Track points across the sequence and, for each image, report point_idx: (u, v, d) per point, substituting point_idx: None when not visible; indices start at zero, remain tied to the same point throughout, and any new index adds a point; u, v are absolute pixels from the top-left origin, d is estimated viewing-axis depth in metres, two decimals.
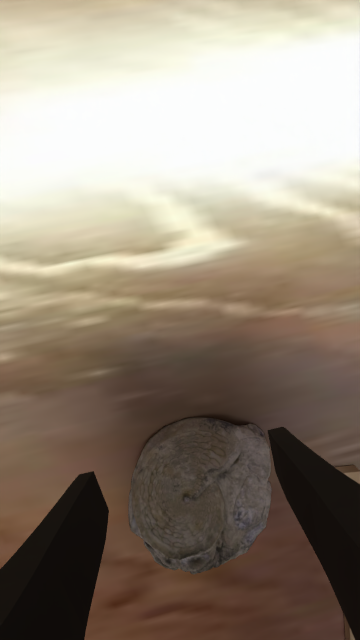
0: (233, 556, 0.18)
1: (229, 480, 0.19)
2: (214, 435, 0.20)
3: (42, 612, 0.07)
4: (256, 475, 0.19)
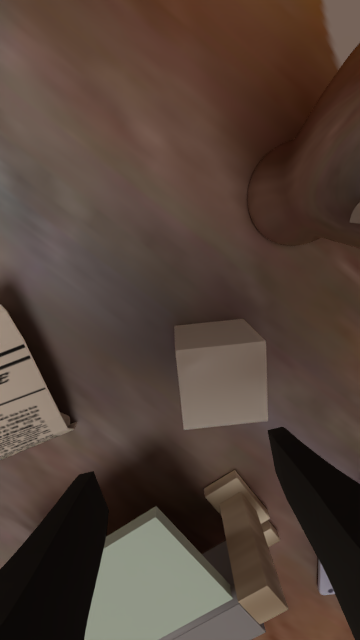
0: None
1: None
2: None
3: (42, 612, 0.07)
4: None
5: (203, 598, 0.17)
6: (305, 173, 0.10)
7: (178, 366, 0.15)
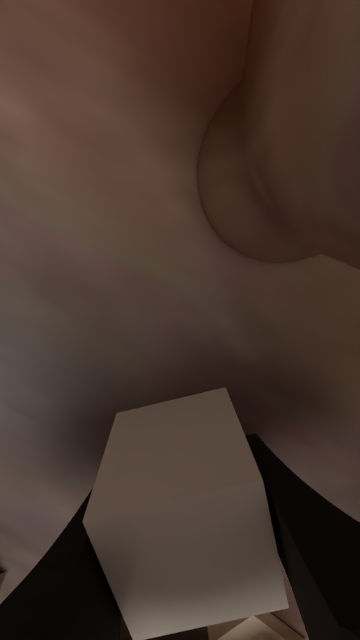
0: None
1: None
2: None
3: (85, 602, 0.07)
4: None
5: None
6: (306, 52, 0.02)
7: (96, 546, 0.08)
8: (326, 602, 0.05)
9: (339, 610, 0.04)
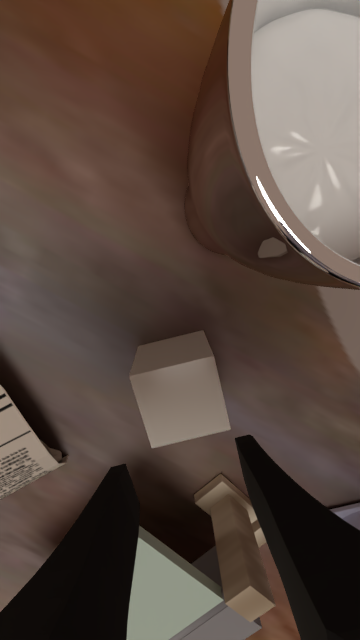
0: None
1: None
2: None
3: (93, 601, 0.07)
4: None
5: (195, 603, 0.18)
6: None
7: (135, 390, 0.16)
8: (314, 604, 0.05)
9: (326, 613, 0.04)
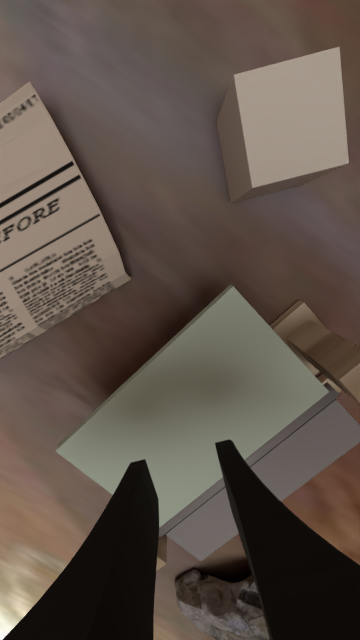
0: (261, 635, 0.22)
1: None
2: None
3: (124, 594, 0.07)
4: (201, 616, 0.24)
5: (295, 394, 0.15)
6: None
7: (239, 98, 0.13)
8: (266, 615, 0.05)
9: (277, 624, 0.04)
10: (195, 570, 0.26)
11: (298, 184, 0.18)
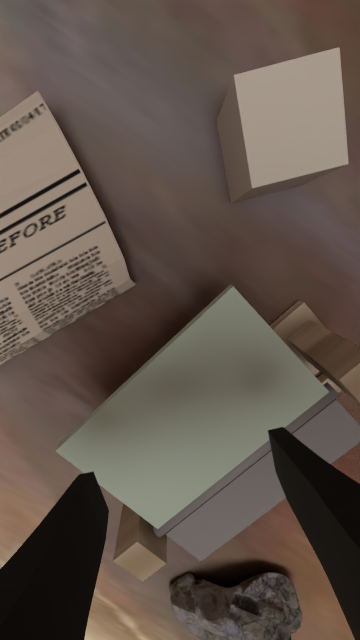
0: None
1: None
2: None
3: (42, 612, 0.07)
4: (194, 621, 0.24)
5: (295, 394, 0.15)
6: None
7: (239, 98, 0.13)
8: None
9: None
10: (189, 574, 0.27)
11: (298, 184, 0.18)
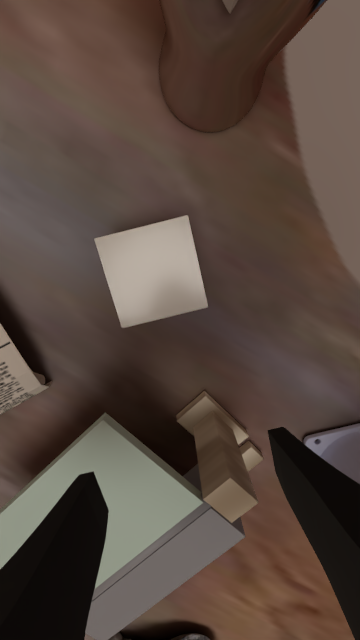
0: None
1: None
2: None
3: (42, 612, 0.07)
4: None
5: (171, 505, 0.17)
6: None
7: (101, 256, 0.14)
8: None
9: None
10: (118, 634, 0.28)
11: None
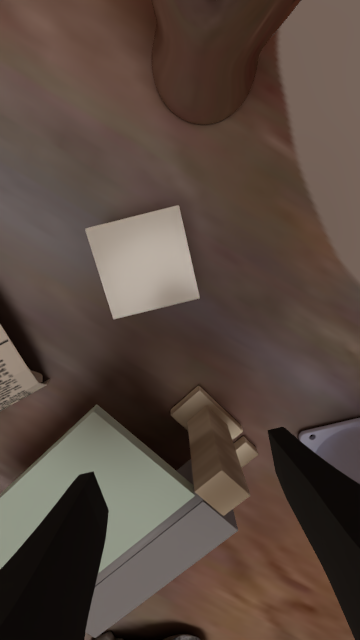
0: None
1: None
2: None
3: (42, 612, 0.07)
4: None
5: (163, 498, 0.17)
6: None
7: (92, 247, 0.14)
8: None
9: None
10: (109, 633, 0.28)
11: None
